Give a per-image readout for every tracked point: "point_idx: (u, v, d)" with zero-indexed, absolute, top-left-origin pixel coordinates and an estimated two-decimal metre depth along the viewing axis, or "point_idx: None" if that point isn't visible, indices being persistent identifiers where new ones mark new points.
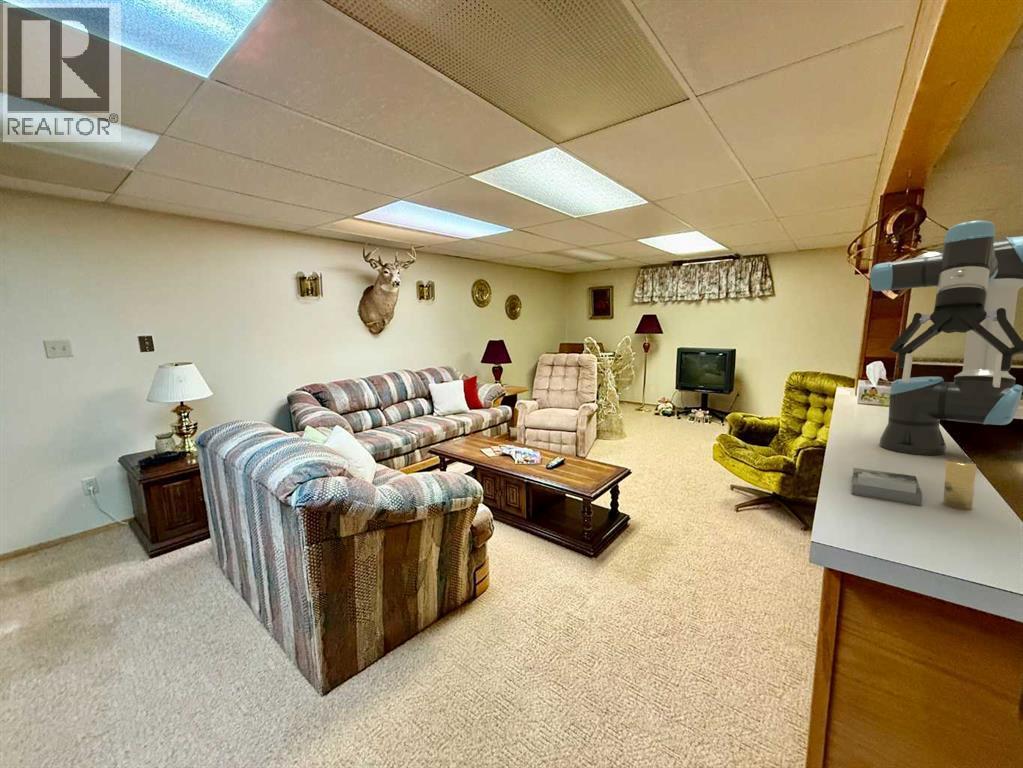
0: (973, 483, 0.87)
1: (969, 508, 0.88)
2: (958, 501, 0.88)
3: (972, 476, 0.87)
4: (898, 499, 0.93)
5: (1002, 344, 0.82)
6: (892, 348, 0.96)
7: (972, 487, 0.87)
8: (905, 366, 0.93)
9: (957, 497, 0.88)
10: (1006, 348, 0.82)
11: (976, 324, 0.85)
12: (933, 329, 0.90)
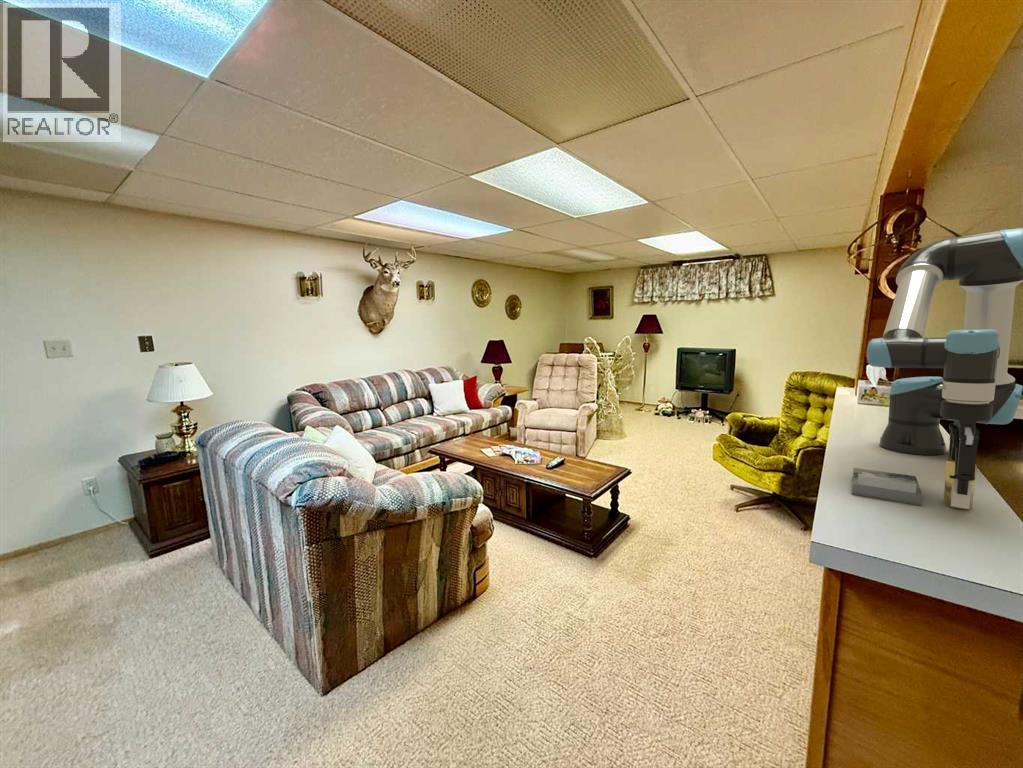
0: (973, 483, 0.87)
1: (969, 508, 0.88)
2: None
3: None
4: (898, 499, 0.93)
5: (955, 469, 0.87)
6: None
7: (972, 487, 0.87)
8: None
9: None
10: (955, 473, 0.87)
11: (953, 442, 0.88)
12: (950, 441, 0.90)
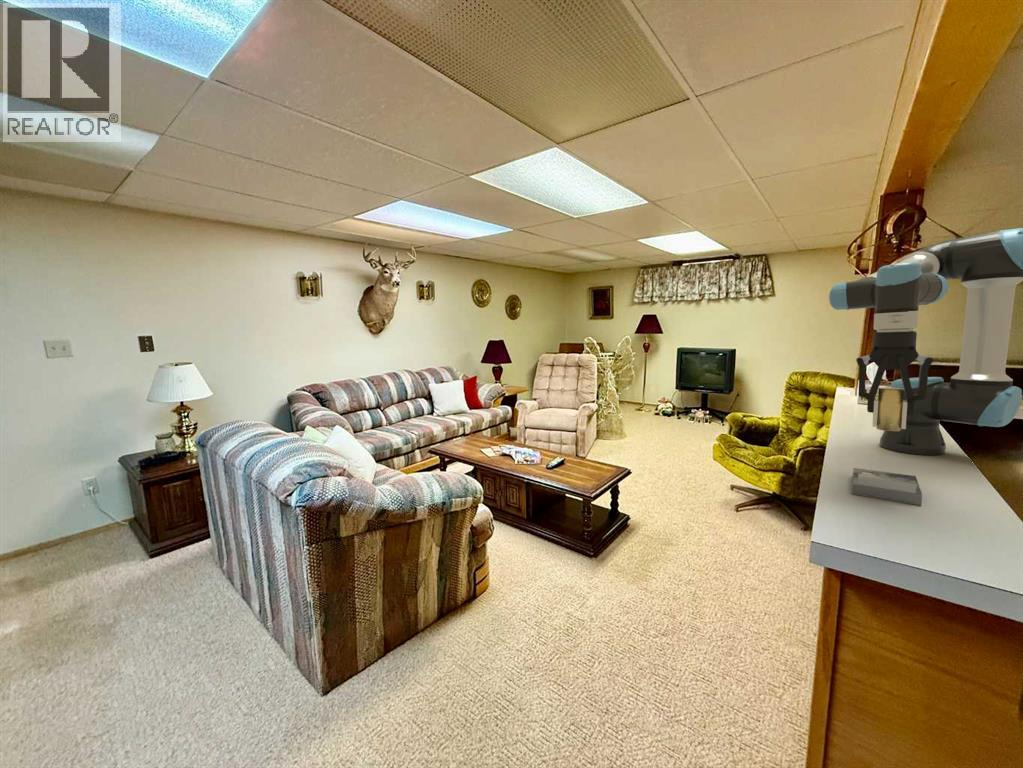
0: None
1: None
2: None
3: None
4: (898, 499, 0.93)
5: (911, 393, 0.94)
6: (861, 395, 0.99)
7: None
8: (874, 413, 0.98)
9: (901, 419, 0.96)
10: (911, 397, 0.94)
11: (904, 369, 0.93)
12: (882, 371, 0.96)
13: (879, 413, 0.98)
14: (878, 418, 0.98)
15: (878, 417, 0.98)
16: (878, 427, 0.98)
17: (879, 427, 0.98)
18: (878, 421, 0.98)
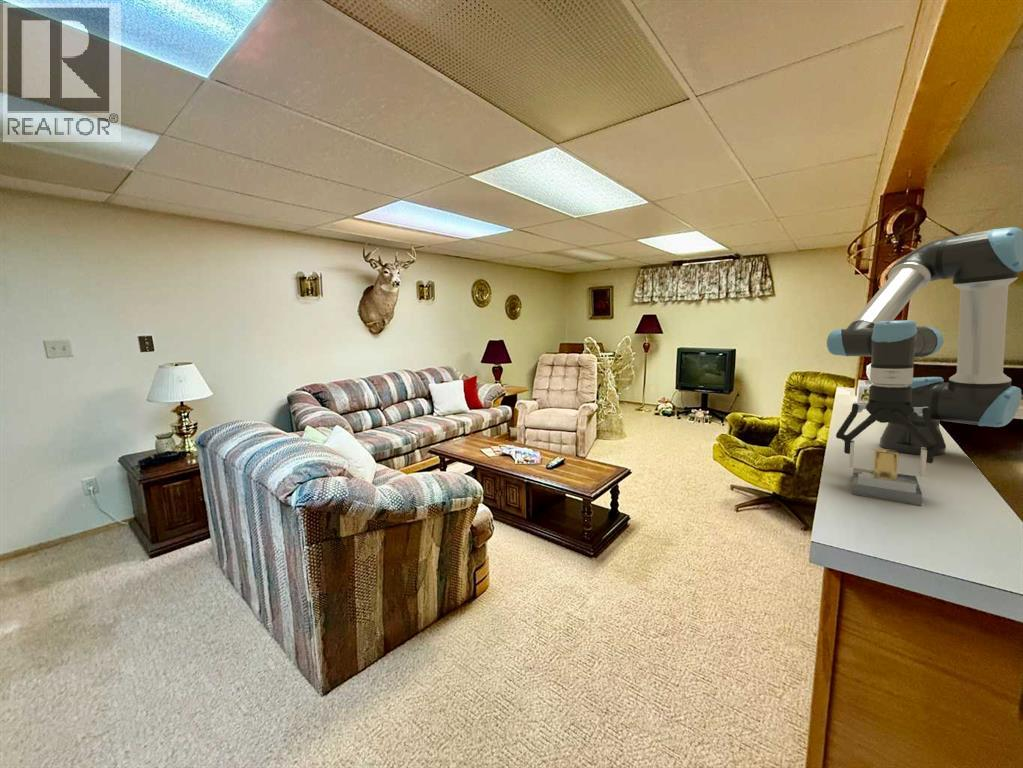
0: None
1: None
2: None
3: None
4: (898, 499, 0.93)
5: (927, 441, 0.93)
6: (838, 436, 1.04)
7: None
8: (851, 454, 1.02)
9: None
10: (930, 445, 0.93)
11: (906, 421, 0.94)
12: (871, 422, 0.99)
13: (875, 474, 1.00)
14: None
15: None
16: None
17: None
18: None
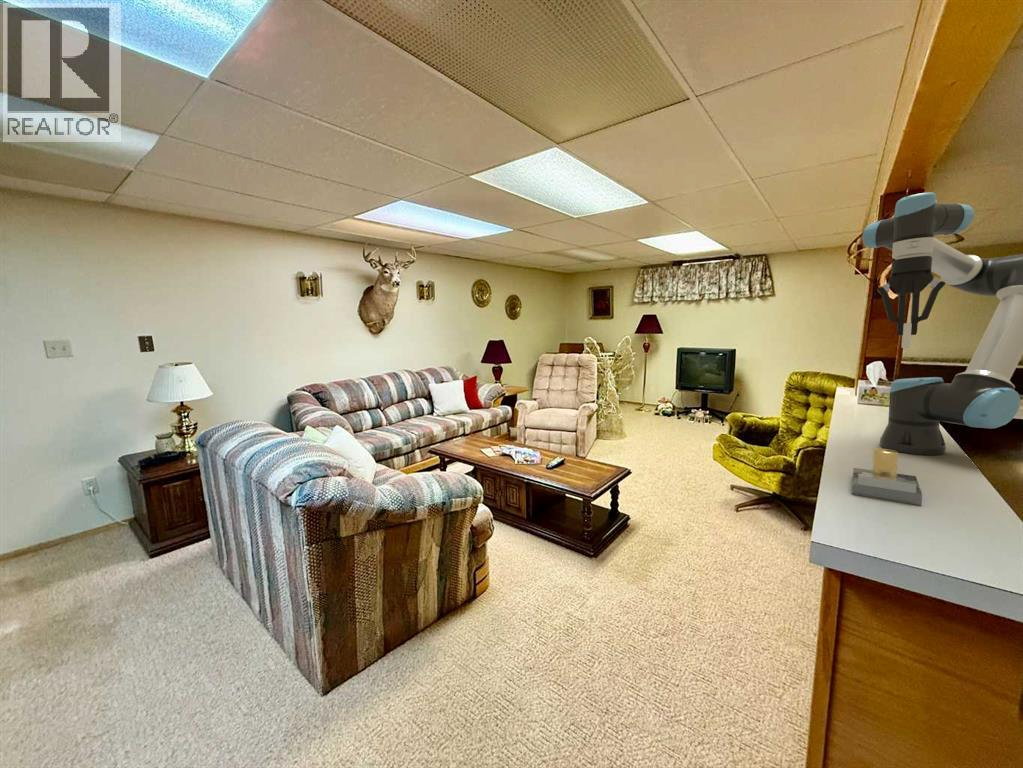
0: None
1: None
2: None
3: None
4: (898, 499, 0.93)
5: (916, 314, 1.05)
6: (891, 319, 1.08)
7: None
8: (904, 335, 1.06)
9: None
10: (916, 318, 1.05)
11: (917, 292, 1.04)
12: (904, 295, 1.05)
13: (875, 474, 1.00)
14: None
15: None
16: None
17: None
18: None
